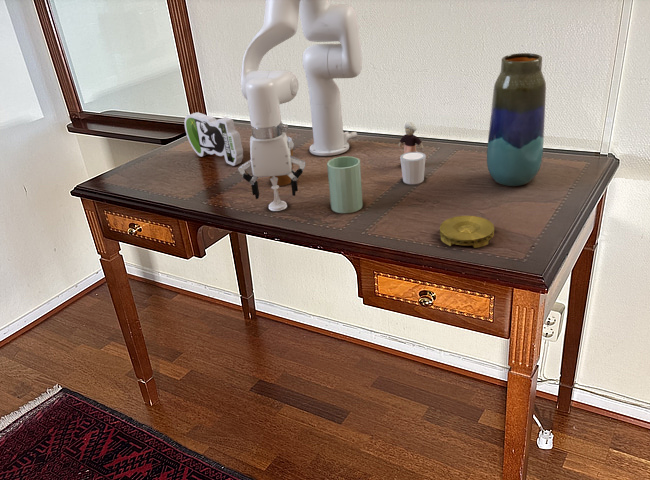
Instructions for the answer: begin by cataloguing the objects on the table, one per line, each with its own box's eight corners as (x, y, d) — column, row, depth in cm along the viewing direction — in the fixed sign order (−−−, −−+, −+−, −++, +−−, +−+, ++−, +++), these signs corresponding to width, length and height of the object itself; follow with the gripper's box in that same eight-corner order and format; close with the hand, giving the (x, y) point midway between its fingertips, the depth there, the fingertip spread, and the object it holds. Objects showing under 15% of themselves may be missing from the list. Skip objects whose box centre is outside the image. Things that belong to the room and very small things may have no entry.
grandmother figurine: (396, 167, 182) (394, 124, 175) (399, 162, 185) (398, 120, 178) (422, 169, 179) (422, 125, 173) (425, 164, 182) (425, 120, 176)
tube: (351, 197, 168) (348, 153, 161) (368, 206, 161) (366, 162, 155) (325, 205, 164) (321, 162, 158) (341, 216, 158) (338, 171, 152)
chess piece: (284, 211, 164) (279, 174, 159) (266, 211, 165) (261, 175, 160) (289, 203, 168) (284, 167, 163) (271, 203, 169) (266, 167, 164)
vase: (549, 176, 167) (563, 53, 150) (523, 195, 159) (535, 66, 142) (502, 167, 175) (509, 49, 158) (475, 184, 167) (480, 61, 150)
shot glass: (429, 176, 174) (429, 152, 171) (421, 186, 169) (421, 161, 166) (405, 174, 177) (404, 150, 173) (397, 184, 172) (396, 159, 168)
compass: (434, 245, 141) (434, 237, 140) (445, 222, 150) (445, 214, 149) (489, 250, 137) (490, 241, 136) (497, 226, 146) (497, 217, 145)
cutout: (239, 121, 188) (188, 104, 202) (232, 124, 186) (181, 106, 201) (245, 168, 197) (195, 149, 211) (238, 171, 195) (188, 151, 209)
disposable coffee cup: (283, 172, 187) (277, 133, 180) (305, 179, 181) (300, 138, 174) (258, 183, 182) (252, 143, 175) (280, 190, 176) (274, 149, 169)
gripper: (302, 123, 158) (308, 187, 167) (234, 129, 159) (244, 192, 168) (301, 132, 152) (308, 198, 161) (230, 138, 153) (241, 204, 162)
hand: (275, 195), depth 164 cm, fingers open, 9 cm apart
